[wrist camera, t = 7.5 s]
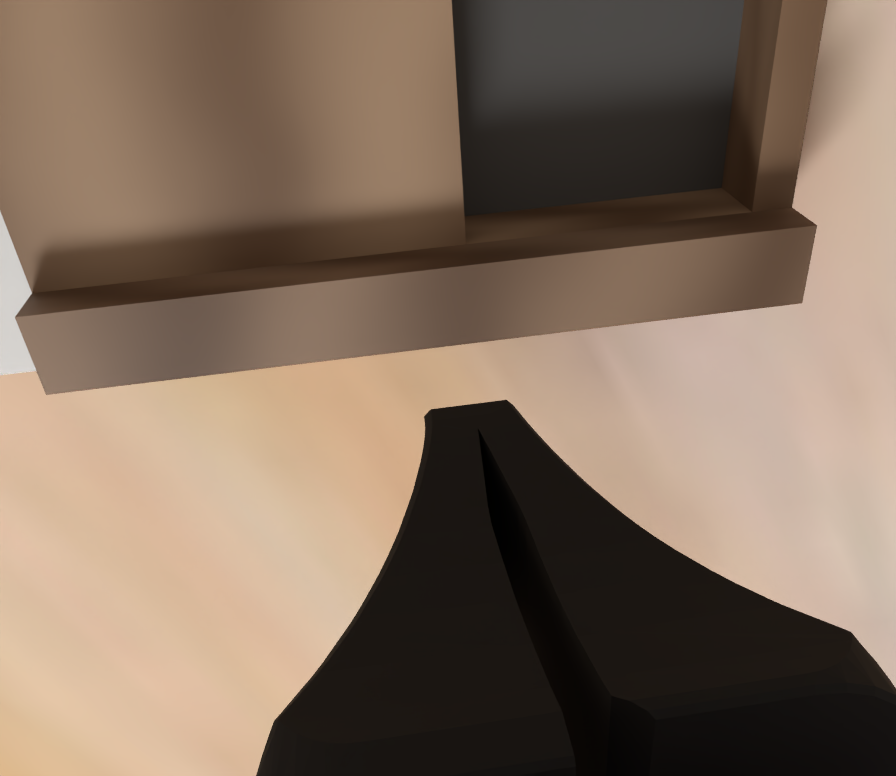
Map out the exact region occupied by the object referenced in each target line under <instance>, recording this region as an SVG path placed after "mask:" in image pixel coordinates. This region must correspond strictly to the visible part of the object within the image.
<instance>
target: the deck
mask: <svg viewBox="0 0 896 776" xmlns="http://www.w3.org/2000/svg"><path fill="white" fill-rule="evenodd" d="M826 5H827V0H0V375H6V374H15V373H23V372H31V371H37V373H38V376H39V378H40V381H41V383H42V386H43V388H44V391H45V393H46V395H49V394H57V393H65V392H73V391H82V390H90V389H98V388H106V387H115V386H123V385H131V384H139V383H148V382H156V381H164V380H172V379H181V378H189V377H197V376H205V375H214V374H222V373H230V372H238V371H247V370H255V369H263V368H271V367H280V366H288V365H296V364H304V363H313V362H321V361H329V360H337V359H346V358H354V357H362V356H370V355H379V354H387V353H395V352H403V351H412V350H420V349H428V348H436V347H444V346H453V345H461V344H469V343H477V342H486V341H494V340H502V339H510V338H519V337H527V336H535V335H543V334H552V333H560V332H568V331H576V330H585V329H593V328H601V327H609V326H618V325H626V324H634V323H642V322H651V321H659V320H667V319H675V318H684V317H692V316H700V315H708V314H717V313H725V312H733V311H741V310H750V309H758V308H766V307H774V306H783V305H791V304H799V303H802V301H803V296H804V290H805V285H806V280H807V275H808V269H809V264H810V259H811V254H812V248H813V243H814V238H815V233H816V228H817V225H816V224H814V223H813V222H811V221H810V220H809V219H807V218H806V217H804V216H803V215H802V214H800V213H799V212H797V211H796V210H795V209H793V208H792V203H793V198H794V192H795V186H796V180H797V174H798V168H799V163H800V157H801V151H802V145H803V139H804V133H805V127H806V122H807V116H808V110H809V104H810V98H811V92H812V87H813V81H814V75H815V69H816V63H817V57H818V51H819V46H820V40H821V34H822V28H823V22H824V16H825V11H826Z"/></svg>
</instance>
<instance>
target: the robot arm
mask: <svg viewBox="0 0 896 776" xmlns="http://www.w3.org/2000/svg"><path fill="white" fill-rule="evenodd" d="M424 418H425V440H424V447H423V453H422V458H421V463H420V467H419V471H418V474H417V478H416V482H415V486H414V490H413V493H412V496H411V499H410V502H409V505H408V507H407V510H406V513H405V516H404V518H403V521H402V524H401V527H400V529H399V532H398V534H397V537H396V539H395V541H394V544H393V546H392V548H391V550H390V553H389V555H388V557H387V559H386V561H385V563H384V565H383V567H382V569H381V571H380V573H379V575H378V577H377V579H376V581H375V583H374V584H373V586H372V588H371V590H370V591H369V593H368V595H367V597H366V599H365V600H364V602H363V604H362V606H361V607H360V609H359V611H358V612H357V614H356V616H355V617H354V619H353V620H352V622H351V623H350V625H349V626H348V628H347V629H346V631H345V632H344V633H343V635H342V636H341V638H340V639H339V641H338V642H337V643H336V645H335V646H334V648H333V649H332V651H331V652H330V653H329V655H328V656H327V658H326V659H325V660H324V662H323V663H322V665H321V666H320V667H319V668H318V670H317V671H316V672H315V674H314V675H313V676H312V677H311V679H310V680H309V681H308V682H307V683H306V684H305V686H304V687H303V688H302V689H301V690H300V691H299V693H298V694H297V695H296V696H295V697H294V699H293V700H292V701H291V702H290V703H289V704H288V706H287V707H286V708H285V709H284V710H283V712H282V713H281V714H280V715H279V716H278V717H277V718H276V720H275V721H274V723H273V726H272V729H271V731H270V734H269V737H268V740H267V743H266V746H265V749H264V752H263V755H262V758H261V762H260V765H259V768H258V772H257V775H256V776H896V688H895V687H894V685H893V684H892V682H891V681H890V679H889V678H888V677H887V675H886V674H885V673H884V671H883V670H882V669H881V667H880V666H879V665H878V664H877V662H876V661H875V660H874V659H873V657H872V656H871V655H870V654H869V653H868V652H867V651H866V649H865V648H864V647H863V646H862V645H861V644H860V643H859V641H858V640H857V639H856V638H855V636H854V635H853V634H852V633H851V632H850V631H847V630H845V629H842V628H840V627H837V626H835V625H832V624H829V623H827V622H824V621H822V620H819V619H817V618H814V617H812V616H809V615H807V614H804V613H801V612H799V611H796V610H794V609H791V608H789V607H786V606H784V605H781V604H779V603H777V602H774V601H772V600H770V599H768V598H766V597H764V596H761V595H759V594H757V593H755V592H753V591H751V590H749V589H747V588H745V587H742V586H740V585H738V584H736V583H734V582H732V581H730V580H728V579H726V578H724V577H723V576H721V575H719V574H717V573H715V572H713V571H711V570H709V569H708V568H706V567H704V566H702V565H701V564H699V563H697V562H695V561H694V560H692V559H690V558H689V557H687V556H685V555H683V554H682V553H680V552H678V551H676V550H675V549H673V548H672V547H670V546H668V545H667V544H665V543H664V542H662V541H661V540H659V539H657V538H656V537H654V536H653V535H652V534H650V533H649V532H647V531H646V530H644V529H643V528H642V527H640V526H639V525H637V524H636V523H635V522H633V521H632V520H631V519H629V518H628V517H627V516H625V515H624V514H623V513H622V512H620V511H619V510H618V509H617V508H615V507H614V506H613V505H612V504H610V503H609V502H608V501H607V500H606V499H604V498H603V497H602V496H601V495H600V494H599V493H597V492H596V491H595V490H594V489H593V488H592V487H590V486H589V485H588V484H587V483H586V482H585V481H584V480H583V479H582V478H581V477H579V476H578V475H577V474H576V473H575V472H574V471H573V470H572V469H571V468H570V467H569V466H568V465H567V464H566V463H565V462H564V461H563V460H562V459H561V458H560V457H559V456H558V455H557V454H556V453H555V452H554V451H553V450H552V449H551V448H550V447H549V446H548V445H547V444H546V443H545V442H544V440H543V439H542V438H541V437H540V436H539V435H538V434H537V433H536V432H535V431H534V429H533V428H532V427H531V426H530V425H529V424H528V423H527V421H526V420H525V419H524V418H523V417H522V415H521V414H520V413H519V412H518V411H517V409H516V408H515V407H514V406H513V405H512V404H511V403H510V402H508V401H507V400H502V401H494V402H486V403H478V404H470V405H462V406H454V407H446V408H439V409H431V410H430V411H429V412H428V413H427V414H426V415H425V416H424Z"/></svg>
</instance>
